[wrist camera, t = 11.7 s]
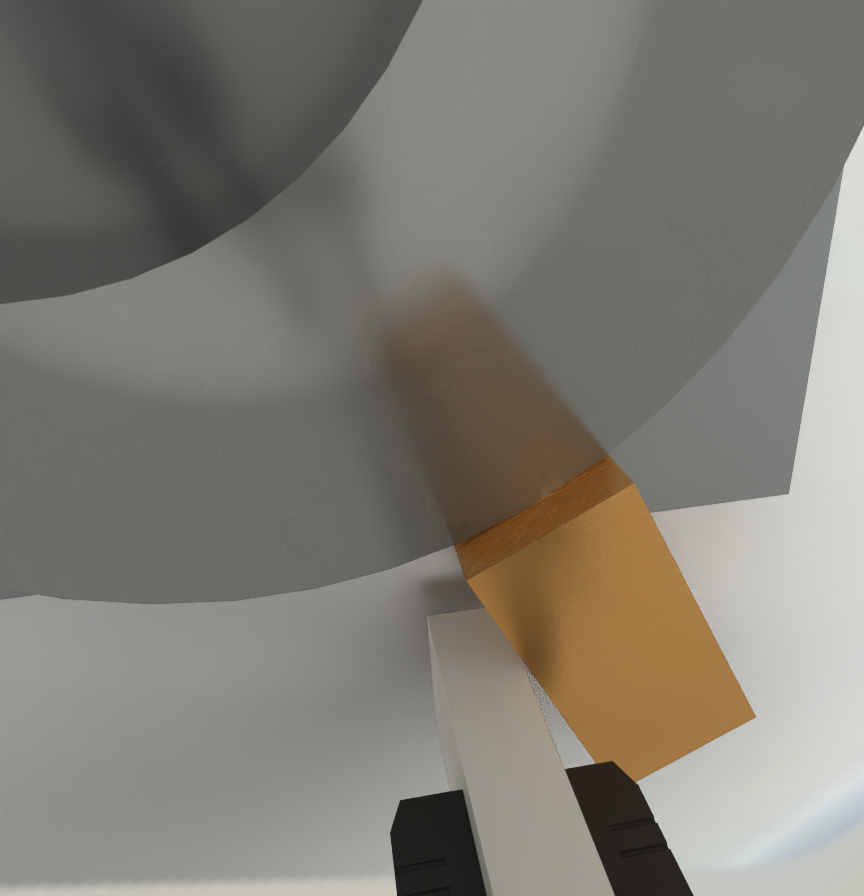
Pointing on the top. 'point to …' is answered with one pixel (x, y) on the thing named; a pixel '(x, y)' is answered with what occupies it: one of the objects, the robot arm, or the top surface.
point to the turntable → (452, 344)
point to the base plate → (735, 398)
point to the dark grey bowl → (165, 123)
